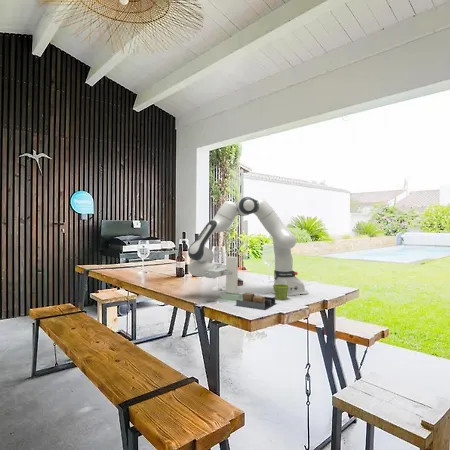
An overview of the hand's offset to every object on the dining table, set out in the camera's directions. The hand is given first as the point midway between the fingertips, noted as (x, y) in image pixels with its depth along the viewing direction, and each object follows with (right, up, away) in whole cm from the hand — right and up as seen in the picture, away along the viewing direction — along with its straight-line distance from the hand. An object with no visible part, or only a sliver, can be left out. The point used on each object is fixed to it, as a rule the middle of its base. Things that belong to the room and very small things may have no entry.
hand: (233, 272), depth 200 cm
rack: (+12, -17, -11) cm, 23 cm away
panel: (-1, -11, +1) cm, 11 cm away
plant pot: (+28, -17, +3) cm, 32 cm away
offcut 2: (+13, -16, -15) cm, 25 cm away
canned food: (+3, -16, +50) cm, 52 cm away
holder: (-1, -16, +1) cm, 16 cm away
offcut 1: (+8, -15, -12) cm, 21 cm away
